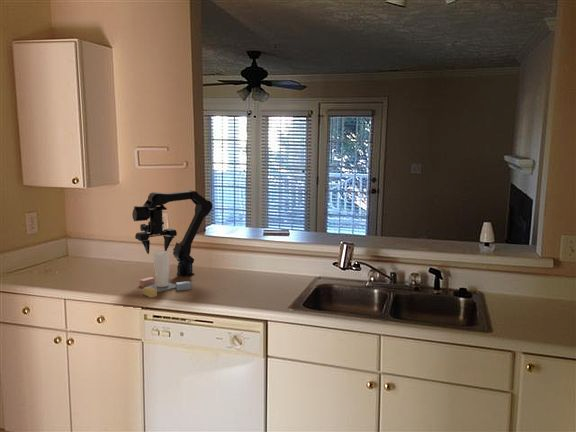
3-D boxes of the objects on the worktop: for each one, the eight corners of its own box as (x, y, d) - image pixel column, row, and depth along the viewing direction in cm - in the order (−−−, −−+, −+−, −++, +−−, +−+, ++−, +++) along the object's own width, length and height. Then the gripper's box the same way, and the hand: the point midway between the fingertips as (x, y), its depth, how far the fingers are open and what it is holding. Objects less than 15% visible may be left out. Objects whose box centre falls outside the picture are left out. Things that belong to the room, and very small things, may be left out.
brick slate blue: (189, 287, 216) (189, 281, 216) (190, 289, 214) (190, 283, 213) (176, 288, 214) (175, 282, 214) (177, 290, 211) (177, 284, 211)
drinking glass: (169, 288, 213) (168, 255, 210) (153, 288, 211) (152, 255, 209) (170, 283, 219) (169, 251, 217) (155, 284, 218) (154, 251, 216)
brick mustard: (143, 294, 206) (143, 287, 206) (150, 293, 208) (149, 286, 208) (150, 297, 202) (150, 291, 201) (156, 296, 204) (156, 289, 203)
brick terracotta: (150, 283, 222) (150, 276, 222) (154, 284, 220) (154, 278, 220) (139, 286, 217) (139, 279, 217) (143, 287, 216) (143, 281, 215)
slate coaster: (166, 282, 223) (166, 281, 223) (179, 287, 215) (179, 286, 215) (144, 287, 215) (144, 285, 215) (157, 292, 208) (157, 291, 208)
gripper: (164, 215, 236) (165, 246, 238) (129, 219, 223) (130, 252, 225) (177, 218, 228) (177, 250, 230) (140, 222, 215) (141, 256, 217)
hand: (156, 252), depth 226 cm, fingers open, 9 cm apart
